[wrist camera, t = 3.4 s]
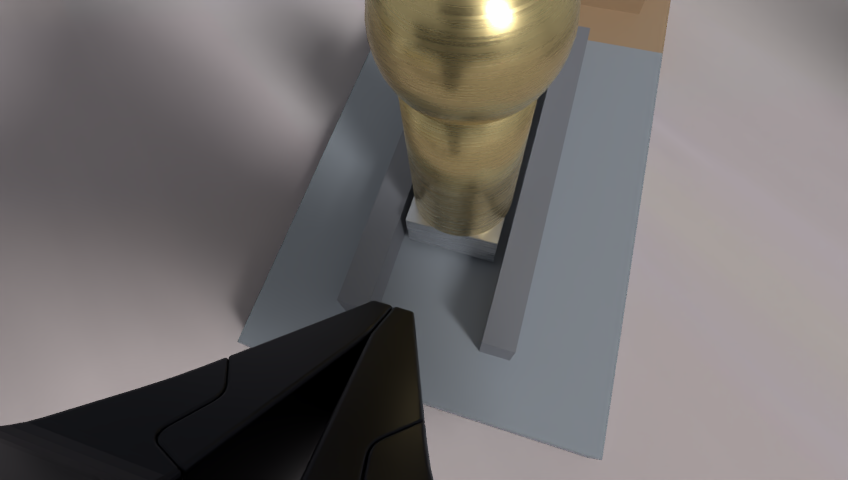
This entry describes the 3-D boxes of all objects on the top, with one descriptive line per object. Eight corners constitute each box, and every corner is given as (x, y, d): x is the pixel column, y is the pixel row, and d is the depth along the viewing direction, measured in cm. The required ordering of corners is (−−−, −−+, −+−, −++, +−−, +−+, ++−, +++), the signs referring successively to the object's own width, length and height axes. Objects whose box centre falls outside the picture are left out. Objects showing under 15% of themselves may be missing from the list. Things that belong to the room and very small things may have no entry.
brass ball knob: (504, 279, 15) (585, 26, 6) (391, 248, 16) (302, -23, 7) (558, 66, 19) (665, -314, 9) (463, 48, 20) (473, -322, 10)
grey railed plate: (588, 457, 15) (644, 466, 10) (255, 349, 17) (185, 318, 12) (661, 0, 22) (712, -107, 18) (424, -38, 24) (418, -142, 20)
